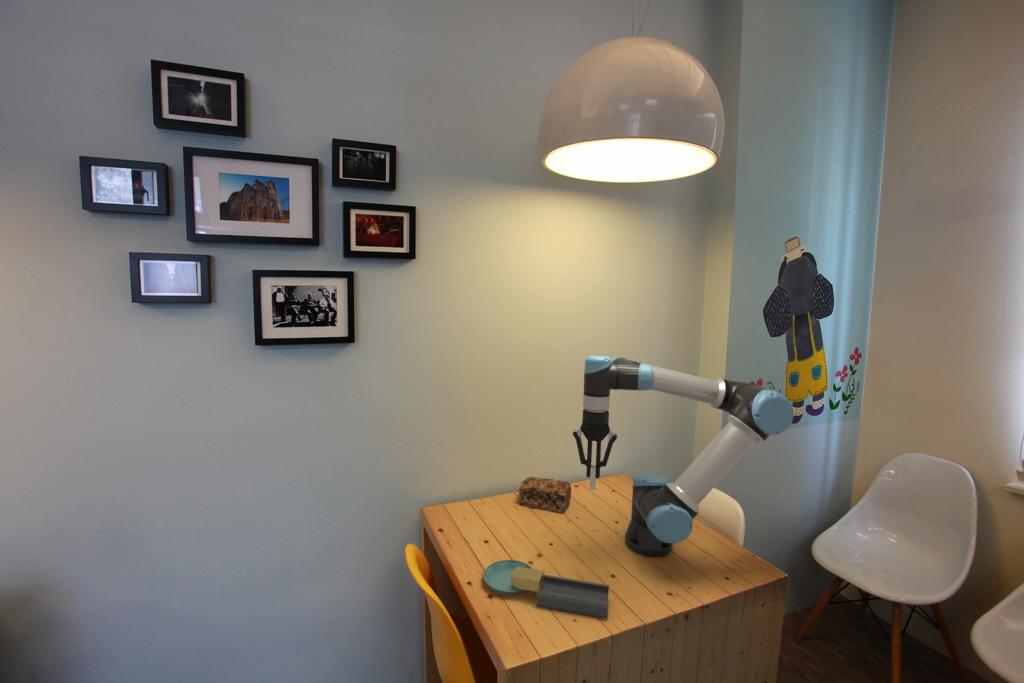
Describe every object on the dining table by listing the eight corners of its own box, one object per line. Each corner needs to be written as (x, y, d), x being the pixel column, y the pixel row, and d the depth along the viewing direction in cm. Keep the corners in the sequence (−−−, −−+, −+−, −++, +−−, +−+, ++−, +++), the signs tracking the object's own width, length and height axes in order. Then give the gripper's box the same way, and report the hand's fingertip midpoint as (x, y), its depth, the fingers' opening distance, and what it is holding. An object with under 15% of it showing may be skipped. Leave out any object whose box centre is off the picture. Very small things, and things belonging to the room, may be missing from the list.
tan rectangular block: (545, 581, 124) (544, 570, 124) (539, 592, 120) (539, 581, 120) (517, 577, 127) (516, 566, 127) (511, 587, 123) (510, 576, 122)
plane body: (608, 599, 122) (608, 585, 122) (607, 619, 115) (608, 604, 114) (541, 588, 126) (542, 574, 126) (536, 606, 119) (536, 592, 118)
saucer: (476, 573, 133) (476, 565, 132) (523, 564, 138) (523, 555, 138) (493, 605, 119) (494, 596, 119) (544, 593, 125) (545, 584, 124)
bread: (571, 504, 180) (572, 479, 179) (564, 515, 170) (565, 489, 169) (526, 495, 187) (527, 471, 186) (517, 506, 177) (517, 481, 176)
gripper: (619, 408, 135) (615, 485, 137) (574, 404, 138) (571, 480, 140) (618, 414, 128) (615, 495, 130) (572, 410, 131) (568, 490, 133)
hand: (592, 487), depth 135 cm, fingers closed
